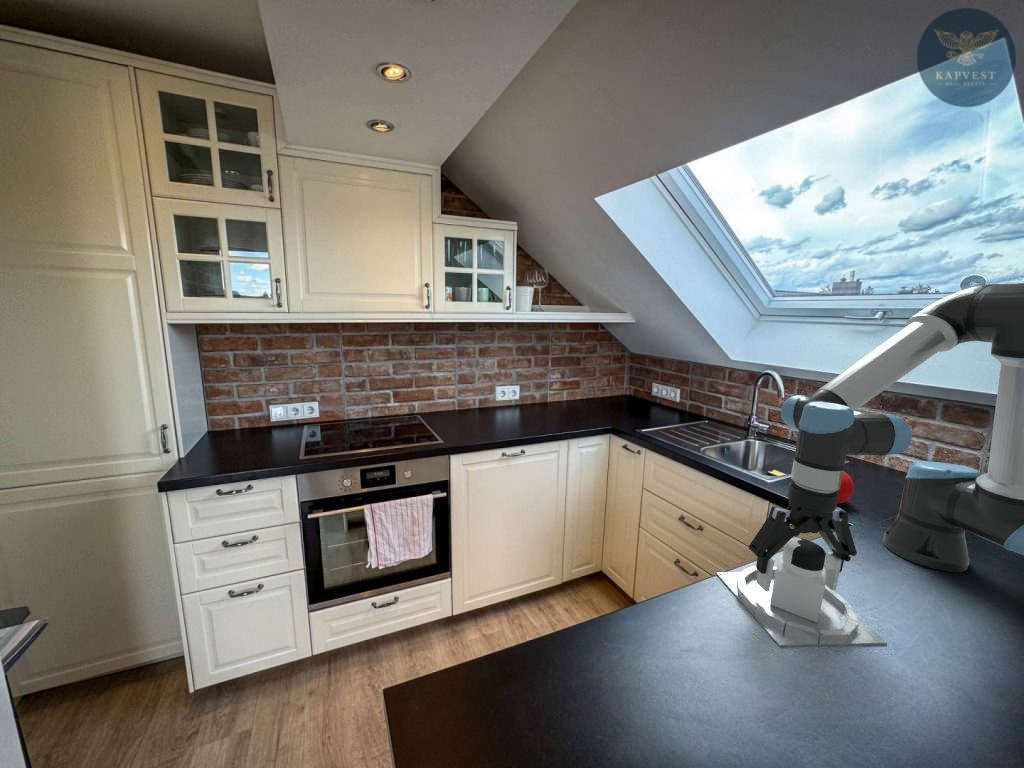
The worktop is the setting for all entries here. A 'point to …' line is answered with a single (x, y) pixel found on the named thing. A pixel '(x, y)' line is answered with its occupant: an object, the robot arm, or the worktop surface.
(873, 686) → the worktop surface
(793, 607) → the container
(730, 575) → the duct collar
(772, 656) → the worktop surface
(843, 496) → the tomato
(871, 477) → the worktop surface
